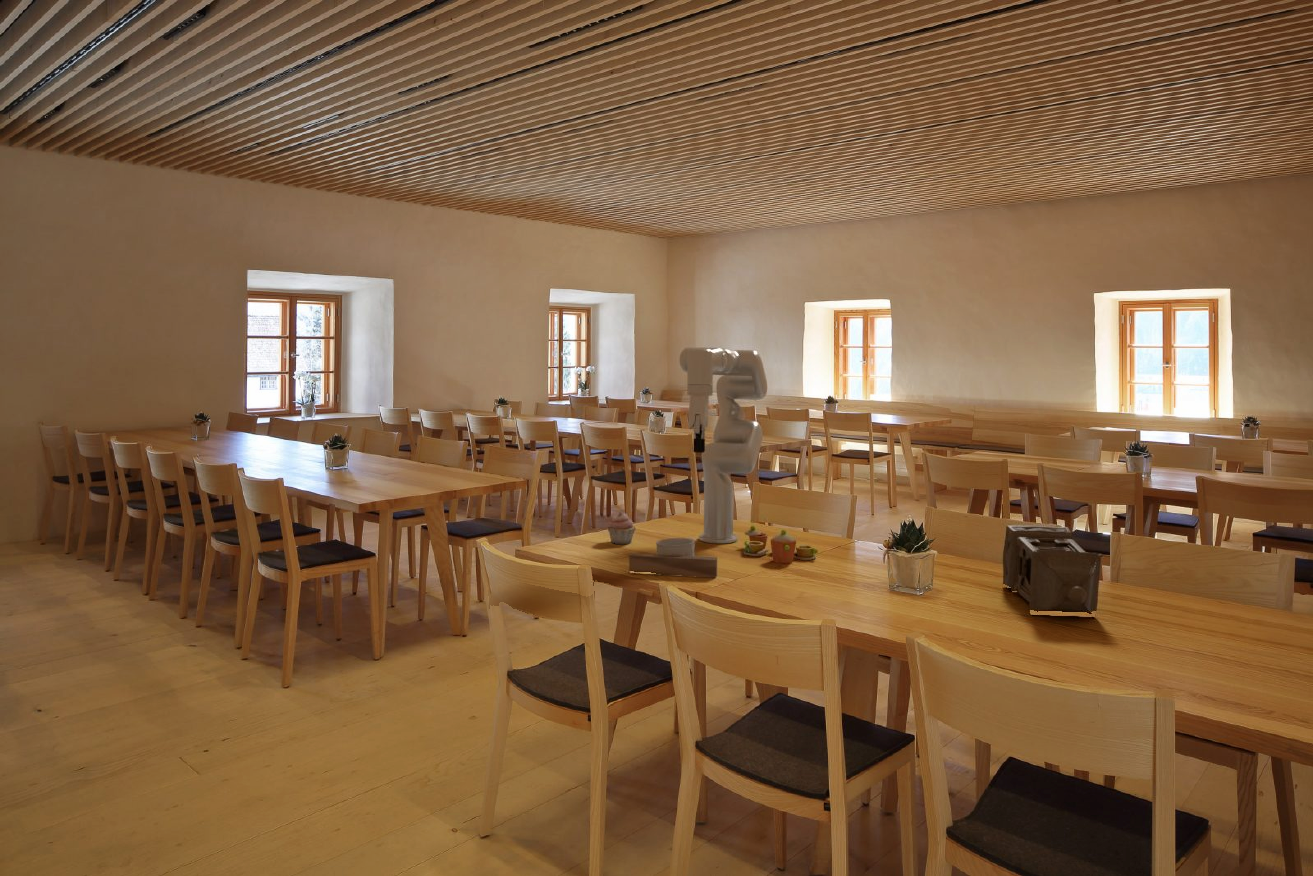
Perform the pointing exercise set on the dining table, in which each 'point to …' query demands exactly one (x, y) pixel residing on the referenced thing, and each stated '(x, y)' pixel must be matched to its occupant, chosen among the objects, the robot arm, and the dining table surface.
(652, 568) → the block
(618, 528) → the cupcake
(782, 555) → the toy tea set
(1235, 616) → the dining table surface
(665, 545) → the grey rounded block
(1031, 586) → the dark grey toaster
